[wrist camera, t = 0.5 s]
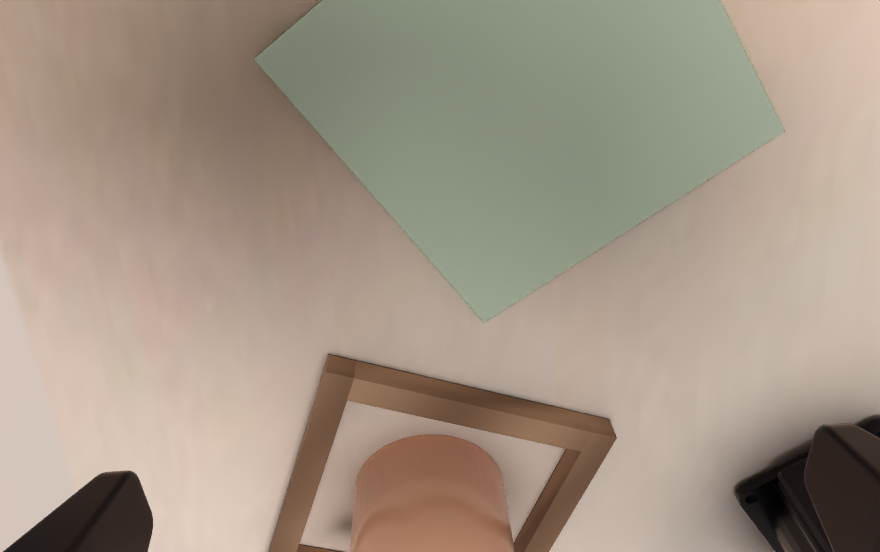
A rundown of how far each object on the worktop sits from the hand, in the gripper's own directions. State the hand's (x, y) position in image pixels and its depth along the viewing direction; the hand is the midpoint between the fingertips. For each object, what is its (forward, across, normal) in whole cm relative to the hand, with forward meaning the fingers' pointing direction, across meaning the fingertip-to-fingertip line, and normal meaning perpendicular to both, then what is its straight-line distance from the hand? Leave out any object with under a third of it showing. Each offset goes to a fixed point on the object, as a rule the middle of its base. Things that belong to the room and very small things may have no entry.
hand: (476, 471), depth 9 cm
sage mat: (+13, -3, -2) cm, 13 cm away
